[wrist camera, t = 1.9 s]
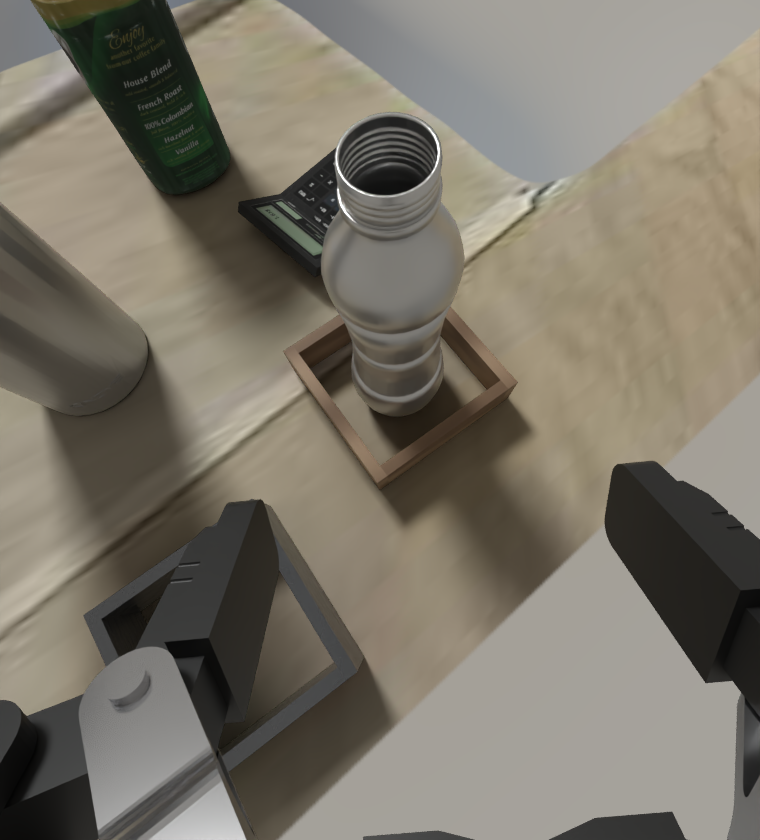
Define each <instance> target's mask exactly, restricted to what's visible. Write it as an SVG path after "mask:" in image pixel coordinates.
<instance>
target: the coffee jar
mask: <svg viewBox="0 0 760 840" xmlns="http://www.w3.org/2000/svg"><path fill="white" fill-rule="evenodd" d="M31 2H32V3H33V5H34V6H35V8H36V9H37V11H38V12H39V14H40V15H41V17H42V18H43V20H44V21H45V23H46V24H47V26H48V27H49V29H50V30H51V32H52V34H53V35H54V37H55V38H56V39H57V41H58V42H59V44H60V46H61V47H62V49H63V50H64V52H65V53H66V55H67V56H68V58H69V59H70V61H71V62H72V64H73V65H74V67H75V68H76V70H77V71H78V73H79V74H80V76H81V77H82V79H83V80H84V82H85V83H86V85H87V86H88V88H89V89H90V91H91V92H92V94H93V95H94V97H95V98H96V100H97V101H98V102H99V104H100V105H101V107H102V108H103V110H104V111H105V113H106V114H107V116H108V117H109V119H110V120H111V122H112V123H113V125H114V126H115V128H116V129H117V131H118V133H119V134H120V136H121V137H122V139H123V140H124V142H125V144H126V145H127V147H128V148H129V150H130V151H131V153H132V154H133V156H134V157H135V159H136V160H137V162H138V163H139V165H140V166H141V168H142V169H143V171H144V172H145V174H146V175H147V176H148V178H149V179H150V180H151V182H152V183H153V184H154V185H155V186H156V187H157V188H158V189H159V190H161V191H163V192H165V193H167V194H184V193H188V192H193V191H196V190H199V189H201V188H204V187H206V186H207V185H209V184H210V183H212V182H214V181H215V180H216V179H217V178H218V177H219V176H220V175H221V174H223V172H224V171H225V170H226V168H227V167H228V165H229V162H230V152H229V149H228V146H227V144H226V141H225V139H224V136H223V134H222V131H221V129H220V127H219V124H218V122H217V119H216V117H215V115H214V112H213V110H212V108H211V105H210V103H209V101H208V98H207V96H206V94H205V92H204V89H203V87H202V84H201V82H200V79H199V77H198V75H197V72H196V70H195V67H194V65H193V62H192V60H191V57H190V55H189V53H188V51H187V48H186V45H185V43H184V40H183V38H182V36H181V33H180V31H179V29H178V26H177V24H176V22H175V19H174V17H173V14H172V12H171V10H170V8H169V5H168V3H167V1H166V0H31Z"/></svg>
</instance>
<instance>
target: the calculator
mask: <svg viewBox="0 0 760 840" xmlns="http://www.w3.org/2000/svg"><path fill="white" fill-rule="evenodd" d="M335 152H336V148H335V149H334V150H333V151H332V152H330V153H329V154H328V155H327V156H326V157H324V158H323V159H322V160H321V161H320V162H318V163H317V164H316V165H315V166H314V167H312V168H311V169H310V170H309V171H307V172H306V173H305V174H304V175H303V176H301V177H300V178H299V179H298V180H297V181H295V182H294V183H293V184H292V185H291V186H289V187H288V188H287V189H286V190H284V191H283V192H282V193H281V194H278V195H273V196H267V197H262V198H257V199H252V200H246V201H241V202H239V206H238V212H239V213H240V214H241V215H242V216H244V217H245V218H246V219H247V220H248V221H249V222H251V223H252V224H253V225H254V226H255V227H257V228H258V229H259V230H260V231H261V232H262V233H264V234H265V235H266V236H267V237H268V238H269V239H271V240H272V241H273V242H274V243H275V244H277V245H278V246H279V247H280V248H281V249H282V250H284V251H285V252H286V253H287V254H288V255H290V256H291V257H292V258H293V259H294V260H295V261H297V262H298V263H299V264H300V265H301V266H302V267H304V268H305V269H306V270H307V271H308V272H310V273H311V274H312V275H313V276H314V277H317V276H319V275H322V274H321V257H322V250H323V244H324V238H325V235H326V232H327V230H328V228H329V225H330V224H331V222H332V220H333V219H334V217H335V216H336V214H337V213H338V211H339V210H340V209H339V206H338V200H337V178H336V173H335Z"/></svg>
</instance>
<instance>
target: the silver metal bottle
mask: <svg viewBox="0 0 760 840" xmlns="http://www.w3.org/2000/svg"><path fill="white" fill-rule="evenodd" d="M441 166H442V150H441V143H440V141H439V138H438V136H437V134H436V133H435V131H434V130H433V129H432V128H431V127H430V126H429V125H428V124H427V123H426V122H424V121H423V120H421V119H419V118H418V117H415V116H412V115H410V114H405V113H400V112H385V113H378V114H374V115H371V116H368V117H366V118H364V119H361V120H359V121H358V122H356V123H355V124H353V125H352V126H351V127H350V128H349V129H348V130H347V131H346V132H345V133H344V134H343V136H342V137H341V139H340V140H339V142H338V145H337V147H336V152H335V173H336V178H337V200H338V206H339V209H340V210H339V211H338V213H337V214H336V216H335V217H334V219H333V220H332V222H331V224H330V225H329V228H328V230H327V232H326V235H325V238H324V244H323V250H322V257H321V274H322V278H323V281H324V285H325V287H326V290H327V292H328V295H329V297H330V299H331V301H332V302H333V304H334V306H335V308H336V309H337V311H338V313H339V314H340V316H341V318H342V320H343V321H344V323H345V325H346V327H347V330H348V332H349V335H350V337H351V341H352V346H353V355H352V365H351V370H352V380H353V383H354V387H355V389H356V391H357V393H358V394H359V396H360V397H361V398H362V399H363V400H364V402H365V403H366V404H367V405H368V406H370V407H371V408H372V409H373V410H375V411H377V412H379V413H381V414H384V415H387V416H395V417H399V416H407V415H410V414H413V413H415V412H417V411H419V410H421V409H422V408H423V407H424V406H426V405H427V404H428V403H429V402H430V400H431V399H432V398H433V397H434V395H435V394H436V393H437V391H438V389H439V387H440V385H441V382H442V378H443V371H444V365H443V356H442V350H441V347H440V334H441V330H442V326H443V322H444V319H445V317H446V314H447V312H448V310H449V308H450V306H451V303H452V301H453V299H454V297H455V295H456V293H457V289H458V286H459V283H460V280H461V277H462V273H463V270H464V257H465V256H464V250H463V244H462V240H461V236H460V232H459V229H458V227H457V224H456V222H455V220H454V218H453V217H452V215H451V214H450V213H449V211H448V210H447V209H446V207H445V206H444V205H443V204H442V202H441V195H442V179H441Z"/></svg>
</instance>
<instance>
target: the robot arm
mask: <svg viewBox="0 0 760 840" xmlns="http://www.w3.org/2000/svg"><path fill="white" fill-rule="evenodd" d="M147 357H148V346H147V340H146V337H145V334H144V332H143V331H142V329H141V327H140V326H139V324H137V323H136V322H135V321H134V320H133V319H132V318H131V317H130V316H129V315H128V314H126V313H125V312H124V311H123V310H122V309H121V308H120V307H119V306H117V305H116V304H115V303H114V302H113V301H112V300H111V299H110V298H108V297H107V296H106V295H105V294H104V293H103V292H102V291H101V290H100V289H98V288H97V287H96V286H95V285H94V284H93V283H92V282H91V281H89V280H88V279H87V278H86V277H85V276H84V275H83V274H81V273H80V272H79V271H78V270H77V269H76V268H75V267H73V266H72V265H71V264H70V263H69V262H68V261H67V260H66V259H64V258H63V257H62V256H61V255H60V254H59V253H58V252H56V251H55V250H54V249H53V248H52V247H51V246H50V245H48V244H47V243H46V242H45V241H44V240H43V239H42V238H40V237H39V236H38V235H37V234H36V233H35V232H34V231H33V230H31V229H30V228H29V227H28V226H27V225H26V224H25V223H23V222H22V221H21V220H20V219H19V218H18V217H17V216H15V215H14V214H13V213H12V212H11V211H10V210H9V209H8V208H6V207H5V206H4V205H3V204H2V203H1V202H0V387H1V388H4V389H6V390H8V391H11V392H13V393H15V394H18V395H20V396H22V397H25V398H27V399H29V400H32V401H34V402H36V403H39V404H41V405H44V406H46V407H48V408H51V409H53V410H55V411H58V412H61V413H64V414H67V415H76V416H82V415H91V414H94V413H98V412H101V411H104V410H106V409H108V408H110V407H112V406H114V405H115V404H117V403H118V402H119V401H121V400H122V399H123V398H125V397H126V396H127V395H128V394H129V393H130V392H131V391H132V389H133V388H134V387H135V386H136V384H137V383H138V381H139V380H140V378H141V376H142V374H143V372H144V369H145V366H146V362H147ZM605 529H606V534H607V537H608V539H609V542H610V543H611V546H612V547H613V549H614V550H615V551H616V553H617V554H618V556H619V557H620V559H621V560H622V562H623V563H624V564H625V566H626V568H627V569H628V571H629V572H630V573H631V575H632V576H633V578H634V579H635V581H636V582H637V584H638V585H639V587H640V588H641V589H642V591H643V592H644V594H645V595H646V597H647V598H648V600H649V601H650V602H651V604H652V605H653V607H654V608H655V610H656V611H657V613H658V614H659V615H660V617H661V619H662V620H663V622H664V623H665V624H666V626H667V627H668V629H669V630H670V632H671V633H672V635H673V636H674V637H675V639H676V640H677V642H678V643H679V645H680V646H681V648H682V649H683V651H684V652H685V654H686V655H687V657H688V658H689V659H690V661H691V662H692V664H693V665H694V667H695V668H696V670H697V671H698V673H699V674H700V676H701V677H702V678H703V680H704V681H705V683H713V682H724V681H733V682H734V683H735V685H736V686H737V687H738V689H739V690H740V691H741V695H740V697H739V700H738V704H737V729H736V731H737V732H736V761H735V792H734V793H735V794H734V810H733V816H732V821H731V826H730V829H729V833H728V837H727V840H760V539H758V538H757V537H756V536H755V535H754V534H753V533H752V532H750V531H749V530H748V529H746V530H745V529H744V525H743V524H741V523H740V522H739V521H738V520H737V519H736V518H735V517H734V516H733V515H729V514H728V511H727V510H726V509H725V508H724V507H723V506H721V505H720V504H719V503H718V502H717V501H716V500H714V498H712V497H711V496H710V495H709V494H707V493H705V492H704V491H702V490H699V489H698V488H696V487H694V486H692V485H690V484H688V483H686V482H684V481H676V480H675V479H674V478H673V477H672V476H671V475H670V474H669V473H668V472H667V471H666V470H665V469H664V468H663V467H662V466H661V465H659V464H658V463H657V462H655V461H645V462H635V463H625V464H617V465H616V466H615V467H614V468H613V471H612V476H611V482H610V488H609V494H608V500H607V507H606V513H605ZM278 573H279V556H278V550H277V546H276V542H275V539H274V535H273V531H272V528H271V524H270V521H269V517H268V514H267V510H266V507H265V504H264V502H263V501H262V500H261V499H260V500H250V501H240V502H230V503H227V505H226V506H225V508H224V510H223V512H222V515H221V517H220V519H219V521H218V523H217V526H213V527H205V528H204V529H203V530H202V531H201V532H200V533H199V534H198V535H197V536H196V537H195V538H194V539H193V540H192V541H191V542H190V543H189V544H188V546H187V548H186V550H185V552H184V554H183V556H182V558H181V560H180V562H179V567H177V568H176V570H175V572H174V574H173V576H172V578H171V583H170V584H168V586H167V588H166V589H165V591H164V593H163V595H162V597H161V599H160V601H159V603H158V605H157V607H156V609H155V611H154V613H153V615H152V617H151V619H150V621H149V623H148V625H147V627H146V629H145V631H144V633H143V635H142V637H141V639H140V641H139V643H138V645H137V647H136V649H135V650H133V651H131V652H128V653H126V654H124V655H122V656H121V657H119V658H117V659H116V660H114V661H113V662H111V663H110V664H109V665H108V666H106V667H105V668H104V669H103V670H102V671H101V672H100V673H99V674H98V675H97V676H96V677H95V679H94V680H93V681H92V682H91V684H90V685H89V687H88V688H87V690H86V691H85V693H84V694H82V695H80V696H78V697H75V698H73V699H70V700H68V701H65V702H62V703H60V704H57V705H55V706H52V707H49V708H47V709H44V710H42V711H39V712H36V713H34V714H31V715H29V716H26V715H25V714H24V713H23V712H22V711H21V709H20V708H19V707H18V706H17V705H16V704H15V703H13V702H11V701H6V700H0V840H97V839H99V840H258V838H257V836H256V834H255V831H254V829H253V827H252V824H251V822H250V820H249V817H248V815H247V813H246V810H245V808H244V806H243V803H242V801H241V799H240V796H239V794H238V792H237V790H236V787H235V785H234V783H233V780H232V778H231V776H230V773H229V771H228V769H227V766H226V764H225V762H224V759H223V757H222V755H221V752H220V750H219V748H218V745H219V741H220V737H221V733H222V730H223V726H224V723H233V722H244V721H245V717H246V712H247V708H248V704H249V700H250V695H251V691H252V687H253V682H254V678H255V674H256V669H257V665H258V661H259V656H260V652H261V648H262V643H263V639H264V635H265V630H266V626H267V622H268V618H269V613H270V609H271V605H272V600H273V596H274V592H275V587H276V583H277V579H278ZM363 840H473V839H469V838H465V837H461V836H457V835H454V834H449V833H446V832H441V831H427V832H415V833H402V834H390V835H377V836H366V837H363ZM549 840H686V839H685V837H684V835H683V833H682V831H681V829H680V827H679V825H678V823H677V821H676V819H675V817H674V815H673V813H672V812H664V813H652V814H638V815H626V816H614V817H601V818H594V819H592V820H590V821H588V822H586V823H583V824H582V825H579V826H577V827H575V828H573V829H571V830H569V831H566V832H564V833H562V834H560V835H558V836H556V837H554V838H552V839H549Z"/></svg>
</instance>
